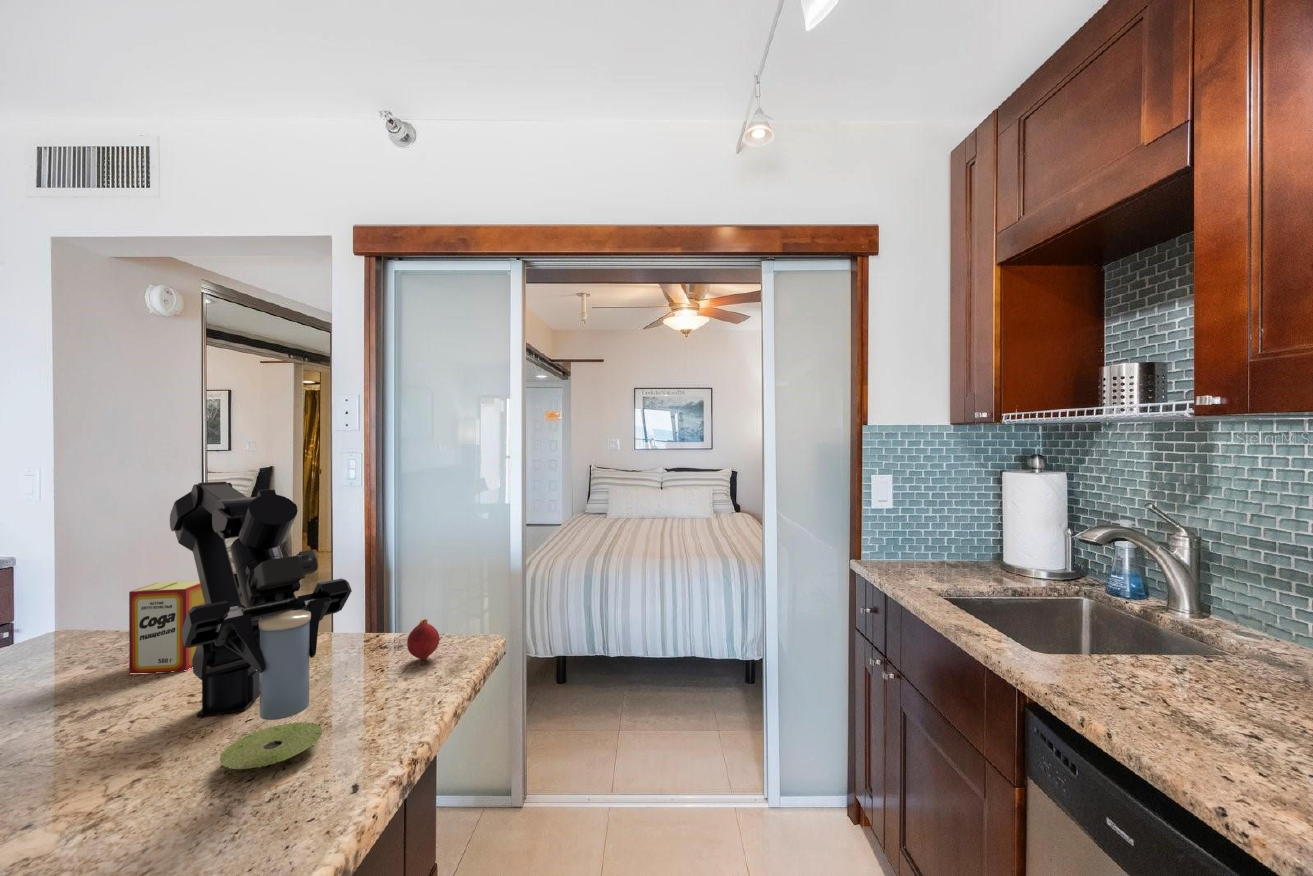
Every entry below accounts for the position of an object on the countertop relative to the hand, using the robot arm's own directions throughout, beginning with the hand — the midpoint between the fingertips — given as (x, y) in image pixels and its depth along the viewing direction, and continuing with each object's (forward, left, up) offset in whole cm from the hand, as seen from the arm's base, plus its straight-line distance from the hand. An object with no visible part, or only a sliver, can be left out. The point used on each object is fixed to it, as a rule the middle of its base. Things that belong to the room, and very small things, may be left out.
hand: (288, 663), depth 71 cm
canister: (-1, +1, -7) cm, 7 cm away
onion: (+13, +31, -13) cm, 36 cm away
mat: (-3, +2, -13) cm, 14 cm away
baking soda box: (-34, +44, -13) cm, 58 cm away
